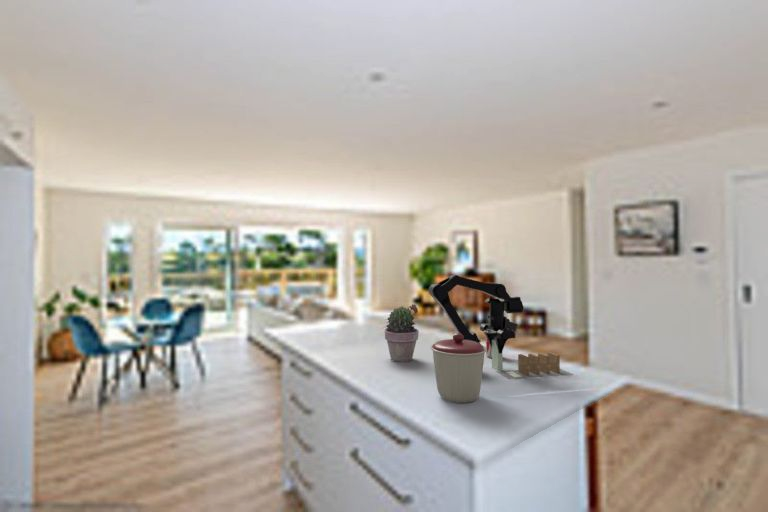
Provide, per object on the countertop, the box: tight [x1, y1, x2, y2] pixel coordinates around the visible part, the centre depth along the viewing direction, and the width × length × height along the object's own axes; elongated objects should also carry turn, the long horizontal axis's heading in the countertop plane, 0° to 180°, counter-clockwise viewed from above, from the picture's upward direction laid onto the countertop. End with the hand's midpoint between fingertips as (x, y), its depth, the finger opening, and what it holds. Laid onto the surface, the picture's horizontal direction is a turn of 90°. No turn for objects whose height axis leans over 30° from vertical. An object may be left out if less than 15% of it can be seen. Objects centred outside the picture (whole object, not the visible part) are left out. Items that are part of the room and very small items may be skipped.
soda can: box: [485, 336, 492, 359], centre depth 173 cm, size 7×7×13 cm
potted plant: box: [378, 303, 419, 363], centre depth 170 cm, size 18×20×25 cm
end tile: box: [547, 351, 561, 373], centre depth 149 cm, size 2×5×7 cm, turn 12°
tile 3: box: [527, 353, 540, 375], centre depth 147 cm, size 2×5×7 cm, turn 12°
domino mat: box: [494, 368, 573, 380], centre depth 147 cm, size 28×10×1 cm, turn 102°
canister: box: [430, 332, 487, 404], centre depth 122 cm, size 18×18×21 cm
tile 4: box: [537, 352, 550, 374], centre depth 148 cm, size 2×5×7 cm, turn 12°
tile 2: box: [517, 353, 529, 376], centre depth 146 cm, size 2×5×7 cm, turn 12°
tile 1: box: [491, 339, 504, 371], centre depth 152 cm, size 2×5×12 cm, turn 12°
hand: (497, 351), depth 152 cm, fingers closed on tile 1, 5 cm apart
